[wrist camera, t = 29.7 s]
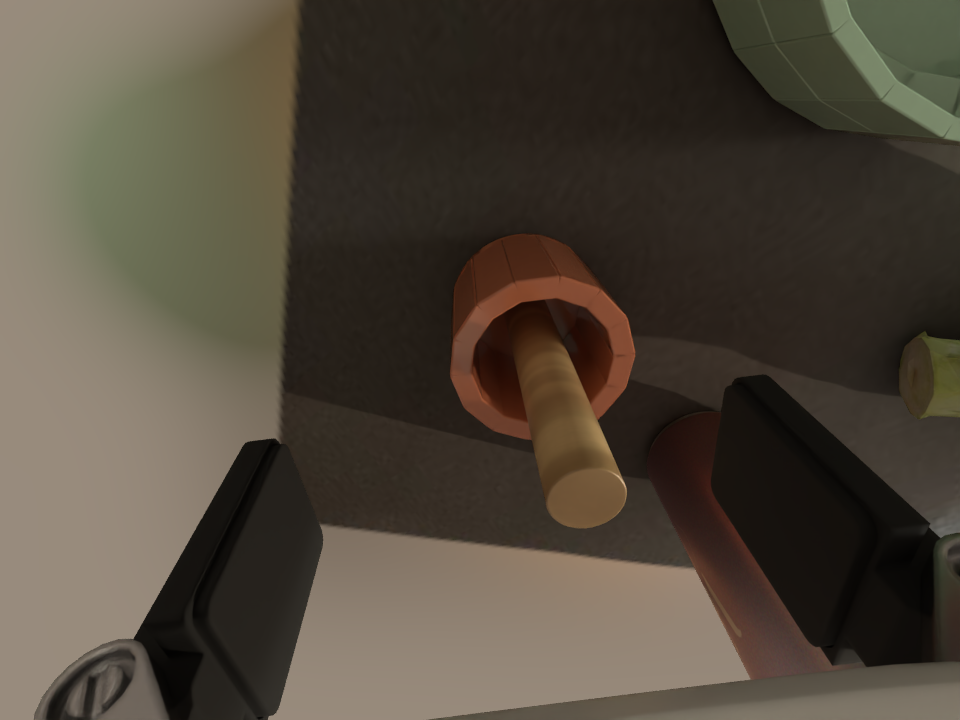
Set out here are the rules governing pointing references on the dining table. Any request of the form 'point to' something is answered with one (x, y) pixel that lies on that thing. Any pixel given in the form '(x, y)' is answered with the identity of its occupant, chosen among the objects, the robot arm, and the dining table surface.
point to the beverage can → (726, 554)
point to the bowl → (856, 62)
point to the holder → (575, 310)
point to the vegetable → (931, 376)
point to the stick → (562, 424)
